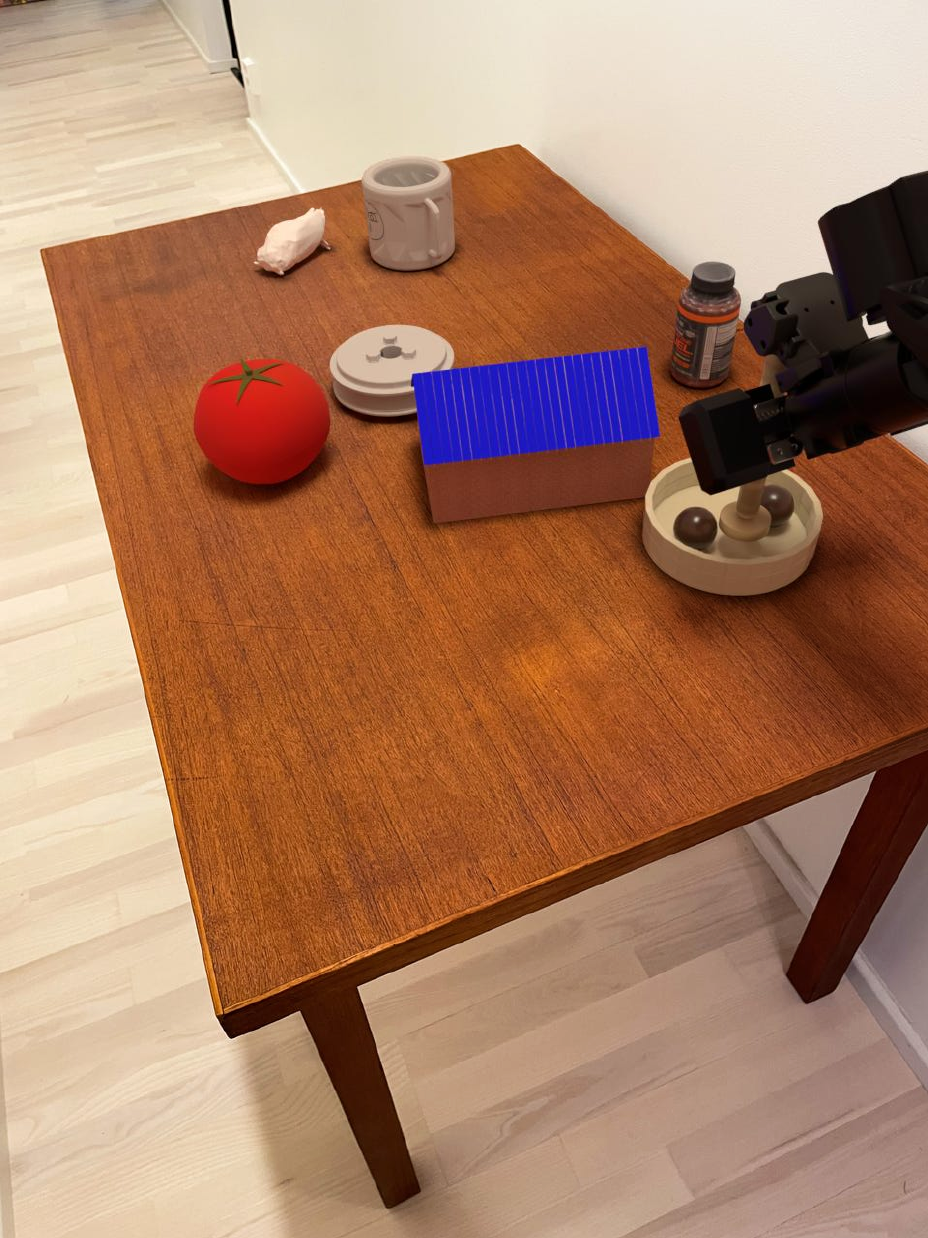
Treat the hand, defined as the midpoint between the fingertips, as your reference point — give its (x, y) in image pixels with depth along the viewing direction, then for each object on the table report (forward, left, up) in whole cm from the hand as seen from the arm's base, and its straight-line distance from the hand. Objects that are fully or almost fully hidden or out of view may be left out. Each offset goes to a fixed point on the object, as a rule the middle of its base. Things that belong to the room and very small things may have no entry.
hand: (749, 439), depth 73 cm
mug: (+62, +4, -11) cm, 63 cm away
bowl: (+1, 0, -10) cm, 10 cm away
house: (+16, +11, -11) cm, 22 cm away
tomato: (+28, +32, -11) cm, 44 cm away
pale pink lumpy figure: (+68, +18, -11) cm, 72 cm away
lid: (+35, +17, -11) cm, 41 cm away
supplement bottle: (+23, -12, -11) cm, 28 cm away
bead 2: (0, -4, -8) cm, 9 cm away
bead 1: (+1, +3, -8) cm, 9 cm away
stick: (-1, 0, -8) cm, 8 cm away
